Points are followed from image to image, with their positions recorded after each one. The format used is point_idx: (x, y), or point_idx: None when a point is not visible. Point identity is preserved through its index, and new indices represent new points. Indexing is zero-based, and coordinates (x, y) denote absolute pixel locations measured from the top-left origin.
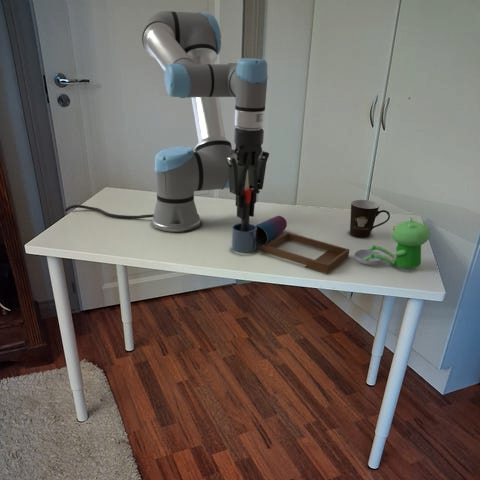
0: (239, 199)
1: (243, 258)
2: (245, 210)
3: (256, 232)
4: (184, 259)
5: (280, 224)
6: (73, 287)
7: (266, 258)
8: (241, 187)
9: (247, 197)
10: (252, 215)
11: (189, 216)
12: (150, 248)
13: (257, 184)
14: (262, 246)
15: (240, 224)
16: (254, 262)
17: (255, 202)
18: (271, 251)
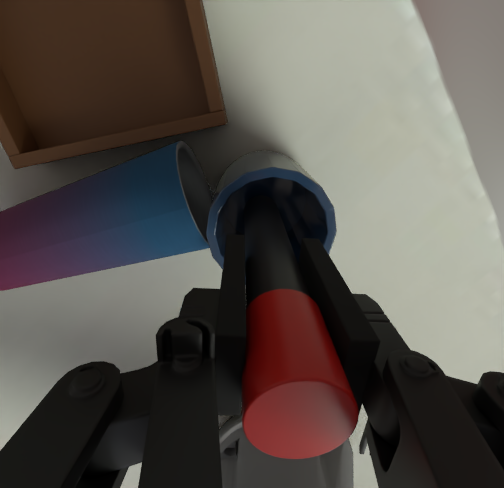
0: (394, 338)
1: (320, 142)
2: (298, 269)
3: (234, 176)
4: (464, 264)
5: (19, 213)
6: None
7: (247, 75)
8: (486, 447)
9: (313, 327)
10: (239, 237)
11: None
12: (459, 371)
13: (150, 437)
14: (195, 160)
15: None
16: (317, 80)
17: (192, 292)
18: (216, 73)
